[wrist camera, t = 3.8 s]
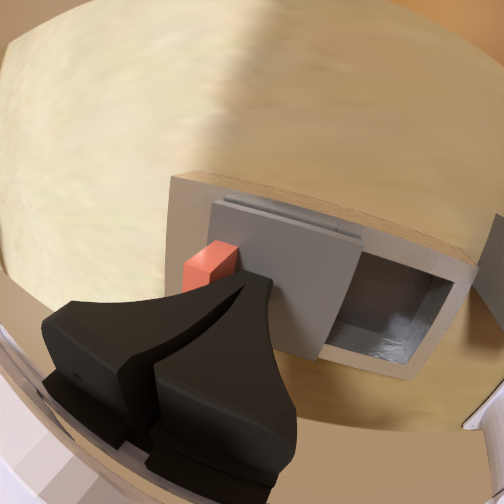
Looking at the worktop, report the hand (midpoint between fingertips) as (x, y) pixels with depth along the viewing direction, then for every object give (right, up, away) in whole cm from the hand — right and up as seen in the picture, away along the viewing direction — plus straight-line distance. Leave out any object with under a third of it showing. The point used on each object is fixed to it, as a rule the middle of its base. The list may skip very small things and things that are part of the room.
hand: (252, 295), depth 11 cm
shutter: (+1, 0, +1) cm, 1 cm away
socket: (+3, +1, +3) cm, 5 cm away
